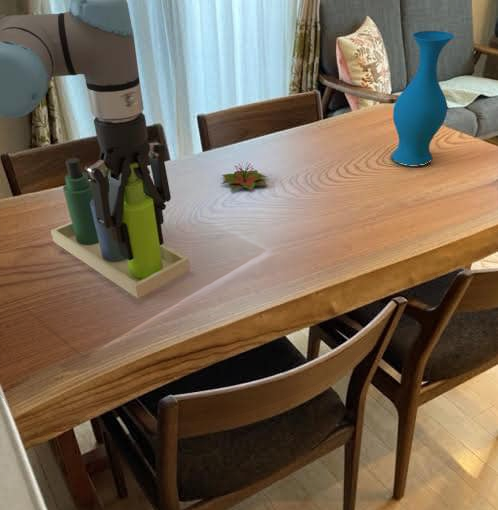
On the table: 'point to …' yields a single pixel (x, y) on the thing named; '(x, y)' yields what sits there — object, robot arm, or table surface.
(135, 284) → the tray
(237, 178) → the lily flower
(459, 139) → the table surface
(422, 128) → the vase
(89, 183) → the green bottle
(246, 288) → the table surface
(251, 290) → the table surface
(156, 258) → the soap dispenser
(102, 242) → the smoky-blue bottle
